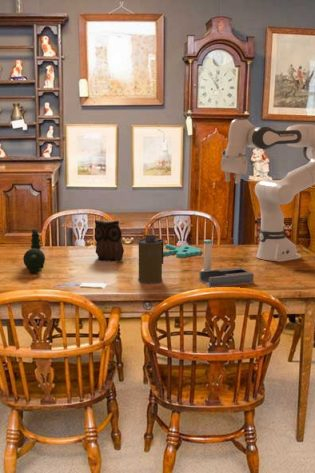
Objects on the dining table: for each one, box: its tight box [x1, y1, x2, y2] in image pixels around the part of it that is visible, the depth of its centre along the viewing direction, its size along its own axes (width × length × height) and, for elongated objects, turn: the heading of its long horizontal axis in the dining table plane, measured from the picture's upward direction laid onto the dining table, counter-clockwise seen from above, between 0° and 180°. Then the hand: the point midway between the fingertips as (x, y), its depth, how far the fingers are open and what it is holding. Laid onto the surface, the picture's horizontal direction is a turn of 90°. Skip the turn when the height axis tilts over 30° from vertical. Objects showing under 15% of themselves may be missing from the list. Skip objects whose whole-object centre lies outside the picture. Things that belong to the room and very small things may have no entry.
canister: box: [137, 233, 164, 284], centre depth 217 cm, size 11×10×20 cm
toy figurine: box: [22, 228, 46, 275], centre depth 233 cm, size 9×19×25 cm
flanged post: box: [200, 239, 213, 271], centre depth 229 cm, size 6×6×15 cm
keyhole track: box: [198, 266, 255, 288], centre depth 217 cm, size 20×12×4 cm, turn 109°
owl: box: [94, 219, 125, 263], centre depth 251 cm, size 13×13×20 cm
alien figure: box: [163, 243, 202, 258], centre depth 268 cm, size 20×2×20 cm
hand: (232, 182), depth 243 cm, fingers open, 8 cm apart
